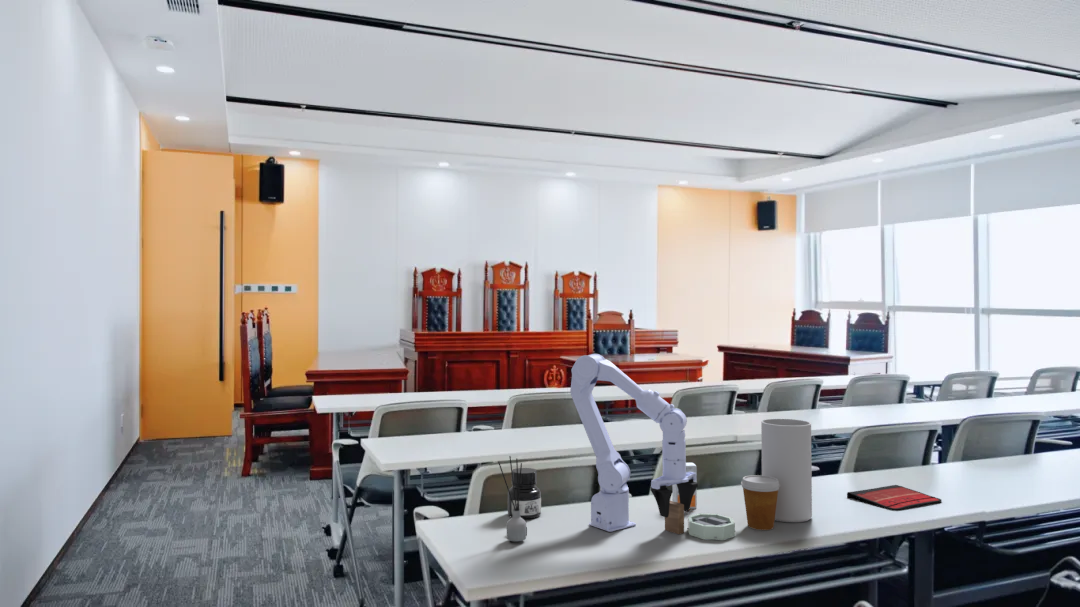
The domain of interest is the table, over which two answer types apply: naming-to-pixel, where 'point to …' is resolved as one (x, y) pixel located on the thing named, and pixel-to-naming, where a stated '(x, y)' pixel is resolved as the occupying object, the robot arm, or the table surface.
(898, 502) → the binder
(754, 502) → the disposable coffee cup
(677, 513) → the wooden block
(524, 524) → the reed diffuser
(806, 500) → the cylinder vase
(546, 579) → the table surface
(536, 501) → the ink bottle
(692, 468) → the skincare box
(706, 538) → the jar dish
